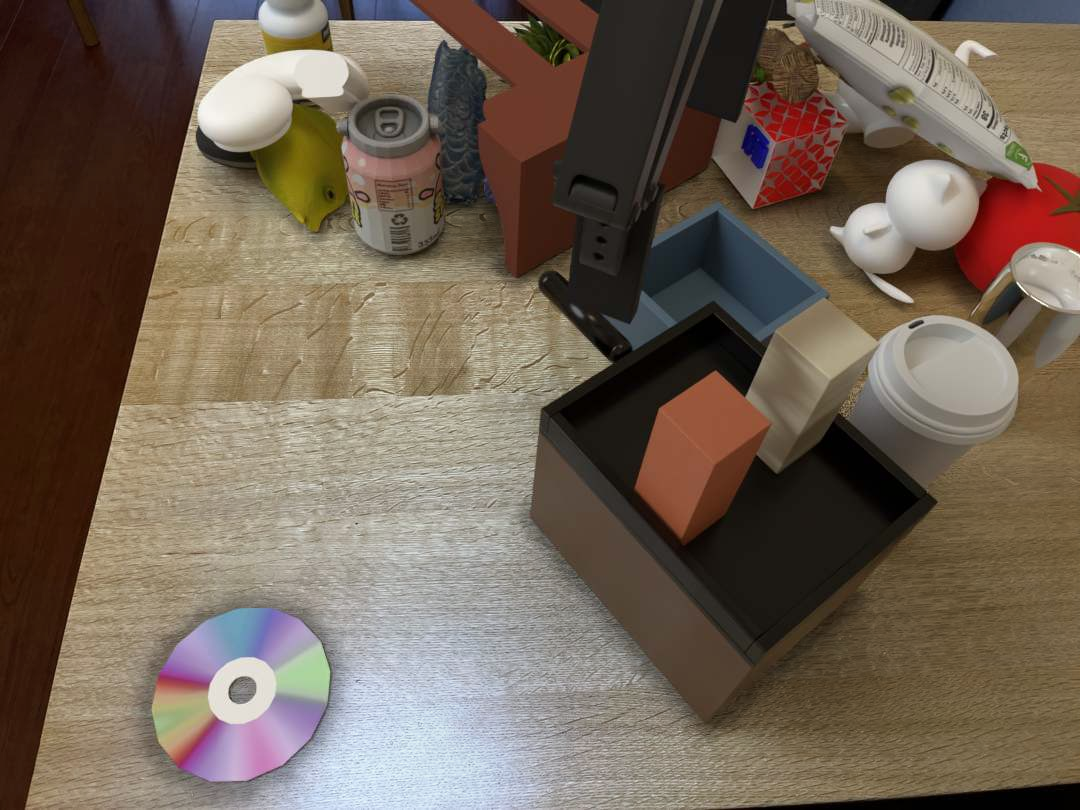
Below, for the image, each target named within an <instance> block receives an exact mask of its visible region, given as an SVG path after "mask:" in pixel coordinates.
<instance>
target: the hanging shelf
mask: <svg viewBox="0 0 1080 810" xmlns="http://www.w3.org/2000/svg"><path fill="white" fill-rule="evenodd" d="M408 1H409V2H410V3H411V4H413V5H414V6H415V7H416V8H417V9H418V10H419V11H421V12H422V13H423V14H424V15H425V16H427V17H428V18H429V19H430V20H431V21H432V22H434V23H435V24H436V25H437V26H439V28H441V29H442V30H443V31H444V32H445V33H446V34H448V35H449V36H450V37H451V38H453V39H454V40H455V41H456V42H457V43H458V44H460V46H461V45H462V46H463V47H465V48H466V49H467V50H468V51H469V52H470V53H471V54H472V55H474V56H475V57H476V58H477V59H478V61H480V62H481V63H482V64H483V65H485V67H487V68H488V69H489V70H490V71H492V72H493V73H494V74H495V75H497V76H498V78H499V79H501V80H504V81H505V82H506V83H507V85H508V87H509V86H511V87H512V88H510V87H509V88H508V89H506V90H504V91H502V92H499V93H496V94H495V95H493V96H491V97H489V98H486V100H485V101H484V104H483V114H484V117H485V119H486V120H485V121H483V122H481V123H479V124H478V145H479V154H480V159H481V163H482V166H483V170H484V173H485V175H486V178H487V181H488V183H489V186H490V189H491V191H492V194H493V197H494V199H495V202H496V204H495V205H496V208H497V212H498V215H499V219H500V223H501V228H502V229H501V230H502V233H503V234H502V235H503V242H504V265H503V267H504V268H505V269H506V270H507V271H508V272H509V273H510V274H511V275H512V276H513V277H514V278H519V277H520V276H522V275H524V274H526V273H528V272H529V271H531V270H533V269H534V268H536V267H538V266H539V265H542V264H543V263H544V262H547V261H548V260H550V259H552V258H554V257H555V256H557V255H559V254H561V253H562V252H564V251H566V250H567V249H569V248H571V247H573V241H574V233H575V224H576V216H577V214H576V213H573V212H570V211H568V210H565V209H562V208H559V207H557V206H554V205H553V201H552V196H553V186H554V183H555V181H556V179H554V178H553V174H552V172H553V165H554V162H555V159H556V160H561V161H562V157H563V153H564V149H565V145H566V142H567V138H568V134H569V130H570V126H571V122H572V118H573V114H574V110H575V106H576V102H577V98H578V95H579V91H580V87H581V83H582V79H583V75H584V71H585V67H586V63H587V59H588V55H589V51H590V48H591V44H592V40H593V36H594V32H595V28H596V24H597V20H598V16H599V13H597V12H596V11H595V10H594V9H592V8H591V7H589V5H586V4H585V3H584V2H582V1H581V0H516V1H517V2H518V3H519V4H521V5H522V6H523V7H524V8H526V9H527V10H528V11H529V12H531V13H532V14H534V15H535V16H536V17H537V16H538V17H539V18H540V19H541V20H543V21H544V22H545V23H547V24H548V25H549V26H550V27H552V28H553V29H554V30H555V31H557V32H558V33H559V34H561V35H562V36H563V37H564V38H566V39H567V40H568V41H570V42H571V43H572V44H573V45H575V46H576V47H577V48H579V49H580V50H581V51H582V52H584V54H582V55H580V56H578V57H576V58H574V59H571V60H569V61H567V62H565V63H563V64H561V65H559V66H557V67H554V66H552V65H551V64H550V63H549V62H547V61H546V60H545V59H544V58H542V57H541V56H540V55H539V54H537V53H536V52H535V51H534V50H533V49H531V48H530V47H529V46H528V45H526V44H525V43H524V42H523V41H521V40H520V39H519V38H518V37H516V36H517V35H515V34H513V33H511V32H512V31H510V29H508V28H507V27H506V26H504V24H502V23H501V22H499V21H498V20H497V19H495V18H494V17H493V16H492V15H491V14H489V13H488V12H487V11H485V10H484V9H483V8H482V7H481V6H480V5H478V4H477V3H476V2H475V1H473V0H408ZM538 17H537V18H538ZM539 18H538V19H539ZM506 83H505V84H506ZM721 120H722V118H719V117H715V116H712V115H709V114H706V113H703V112H700V111H697V110H694V109H691V108H688V107H684V110H683V113H682V116H681V118H680V121H679V124H678V127H677V130H676V132H675V135H674V138H673V141H672V144H671V146H670V149H669V152H668V155H667V157H666V160H665V163H664V166H663V169H662V171H661V174H660V177H659V180H658V182H659V183H662V184H664V185H665V189H664V193H666V192H668V191H670V190H671V189H673V188H675V187H677V186H678V185H680V184H681V183H684V182H686V181H687V180H689V179H690V178H692V177H694V176H696V175H697V174H699V173H701V172H702V171H704V170H706V169H708V168H709V166H710V162H711V159H712V157H711V156H712V153H713V149H714V146H715V142H716V138H717V135H718V131H719V128H720V124H721Z"/></svg>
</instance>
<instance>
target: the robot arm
mask: <svg viewBox="0 0 1080 810" xmlns="http://www.w3.org/2000/svg"><path fill="white" fill-rule="evenodd" d="M774 2H775V0H602V1H601V5H600V9H599V12H598V14H599V16H598V20H597V24H596V28H595V32H594V36H593V40H592V44H591V48H590V51H589V55H588V59H587V63H586V67H585V71H584V75H583V79H582V83H581V87H580V91H579V95H578V98H577V102H576V106H575V110H574V114H573V118H572V122H571V126H570V130H569V134H568V138H567V142H566V145H565V149H564V153H563V157H562V161H561V160H556V159H555V162H554V165H553V172H552V174H553V178H554V179H556V181H555V183H554V186H553V196H552V201H553V205H554V206H557V207H559V208H562V209H565V210H568V211H570V212H573V213H576V214H577V216H576V224H575V233H574V241H573V245H572V250H571V259H570V266H569V275H568V282H569V283H568V291H567V299H566V300H567V301H570V302H572V303H575V304H578V305H580V306H583V307H585V308H588V309H590V310H593V311H596V312H598V313H601V314H603V315H606V316H609V317H611V318H614V319H616V320H619V321H622V322H624V323H627V324H629V325H630V324H631V322H632V320H633V318H634V316H635V314H636V312H637V309H638V304H639V300H640V296H641V291H642V287H643V282H644V278H645V274H646V269H647V265H648V260H649V256H650V251H651V247H652V243H653V238H654V237H655V233H656V230H657V224H658V221H659V217H660V211H661V207H662V202H663V198H664V195H665V192H664V189H665V185H664V184H662V183H659V182H658V180H659V177H660V174H661V171H662V169H663V166H664V163H665V160H666V157H667V155H668V152H669V149H670V146H671V144H672V141H673V138H674V135H675V132H676V130H677V127H678V124H679V121H680V118H681V116H682V113H683V110H684V107H688V108H691V109H694V110H697V111H700V112H703V113H706V114H709V115H712V116H715V117H719V118H722V119H725V120H728V121H731V122H734V123H736V122H737V120H738V118H739V117H740V115H741V112H742V108H743V105H744V101H745V98H746V95H747V91H748V88H749V84H751V83H750V81H751V78H752V74H753V71H754V67H755V64H756V60H757V57H758V54H759V50H760V47H761V43H762V40H763V37H764V33H765V30H766V28H767V26H768V22H769V20H770V16H771V13H772V9H773V5H774ZM722 119H721V120H722Z"/></svg>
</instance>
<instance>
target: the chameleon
mask: <svg viewBox="0 0 1080 810" xmlns="http://www.w3.org/2000/svg"><path fill="white" fill-rule="evenodd" d="M781 27H782V29H783V30H785V29H789V28H794V27H796V25H795V20H792V21H787V22H784V23H783V24H781ZM783 30H780V29H778V28H777V27H774V28H770V27H766V30H765V33H764V37H763V40H762V43H761V47H760V50H759V54H758V57H757V60H756V64H755V67H754V71H753V74H752V78H751V81H750V84H754V83H758V82H766V81H773V85H774V89H775V90H776V91H777V92H778V94H779V95H780V97H781V98H782V99H784V100H786V101H788V102H790V103H800V102H802V101H804V100H806V99H807V98H809V97H810V96H811V95H812V94H813V93H814V91H815V90H816V88H817V89H818V86H819V82H820V74H819V68H818V66H821V65H822V64H821V62H820V61H819V60H818V59H817V58H816V57H815V56H814V55H813V53H812V51H811V49H810V48H809V46H808V44H807V42H806V41H805V40H804V41H801V42H800V43H799V44H797V43H795V41H793V40H792V39H790V37H789V35H787V33H786V31H783ZM750 84H749V85H750Z"/></svg>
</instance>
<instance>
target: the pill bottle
mask: <svg viewBox="0 0 1080 810" xmlns="http://www.w3.org/2000/svg"><path fill="white" fill-rule="evenodd" d="M257 16H258V17H257V18H258V23H259V27H260V31H261V37H262V40H263V44H264V49H265V53H266V56H268V55H272V54H276V53H281V52H286V51H294V50H323V51H330V52H334V47H333V40H332V32H331V28H330V26H331V25H330V19H329V15H328V10H327V8H326V6H325V4H324V2H323V1H322V0H264V2H263V3H262V4H261V5H260V6H259V10H258V15H257ZM300 105H304V106H308V107H310V106H314V105H317V104H316V103H314V102H312V101H311V100H309V99H300Z"/></svg>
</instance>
